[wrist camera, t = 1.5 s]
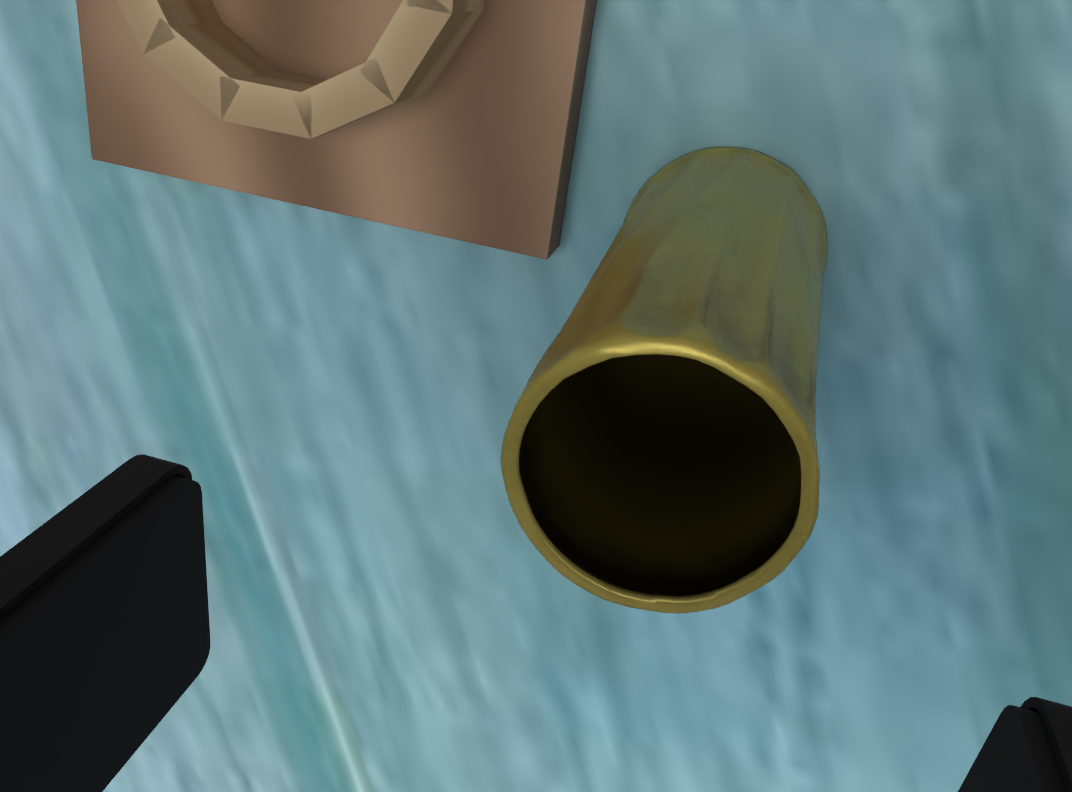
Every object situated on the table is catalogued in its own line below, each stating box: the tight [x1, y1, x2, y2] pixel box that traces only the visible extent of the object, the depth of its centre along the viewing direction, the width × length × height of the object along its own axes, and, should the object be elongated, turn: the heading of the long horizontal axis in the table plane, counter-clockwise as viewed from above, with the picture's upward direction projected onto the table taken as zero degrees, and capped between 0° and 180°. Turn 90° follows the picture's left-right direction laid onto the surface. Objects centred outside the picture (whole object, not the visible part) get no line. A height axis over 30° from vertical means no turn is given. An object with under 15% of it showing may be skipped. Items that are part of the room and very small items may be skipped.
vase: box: [501, 147, 827, 613], centre depth 20 cm, size 6×6×14 cm
